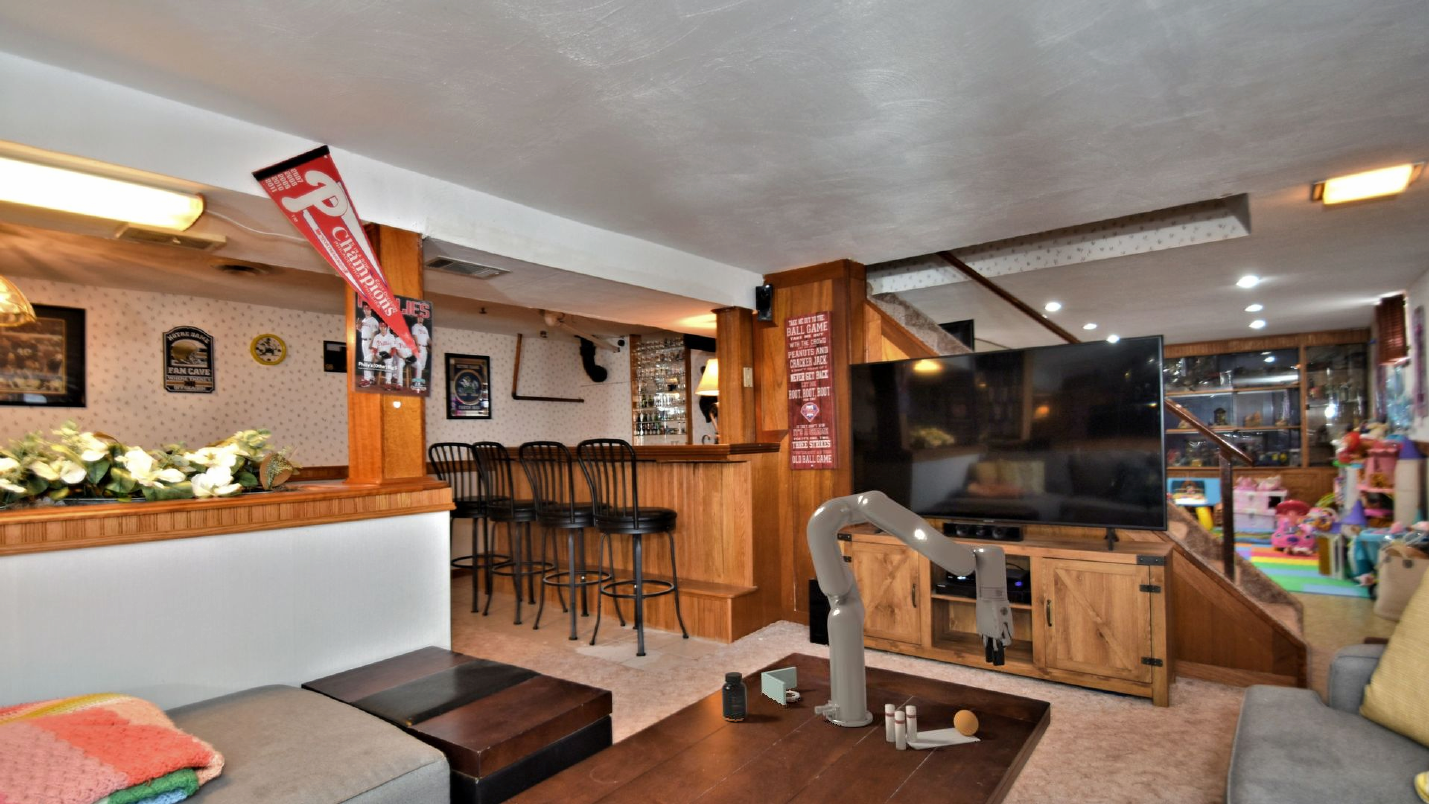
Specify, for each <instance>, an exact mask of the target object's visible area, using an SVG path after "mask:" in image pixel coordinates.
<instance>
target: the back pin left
mask: <svg viewBox="0 0 1429 804" xmlns="http://www.w3.org/2000/svg"><path fill="white" fill-rule="evenodd" d="M884 708H885V709H884V710H885V713H884V714H885V731H886V732H885V734H886V735H885V736H886V741H887V742H890V743H896V732H895V711H896V706H895V705H894V704H891V703H887V704H885V705H884Z"/></svg>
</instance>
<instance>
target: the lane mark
mask: <svg viewBox="0 0 1429 804" xmlns="http://www.w3.org/2000/svg"><path fill="white" fill-rule="evenodd" d="M905 734H906V744H909V746H910V747H912V748H914V749H915V750H922V749H930V748H938V747H945V746H953V745H960V744H967V743H975V741H976V742H981V739H979V738H978V737H977V736H975V735H974V734H972V735H969V736H967V735H963V734H961V733H959V732H958V731H957V729H956V728H955V727H951V728H950V727H949V728H943V729H934V730H927V731H926V730H925V731H919V732H918V731H917V742H916V743H910V742H908V741H907V733H905Z"/></svg>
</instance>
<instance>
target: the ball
mask: <svg viewBox="0 0 1429 804" xmlns="http://www.w3.org/2000/svg"><path fill="white" fill-rule="evenodd" d="M953 725H954V728H956V729H957V731H958V732H959V733H961V734H963V735H967V736H969V735H974V734H975V733H977V731H978V729H979V720H978V717H976V714H974V713H973V712H972V711H970V710H967V709H962V710H959V711H958V712H956V714H955V715H954V717H953Z"/></svg>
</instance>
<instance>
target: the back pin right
mask: <svg viewBox="0 0 1429 804" xmlns="http://www.w3.org/2000/svg"><path fill="white" fill-rule="evenodd" d="M905 717H906V711H903V710H895V732H896V741H895V748H896V749H897V750H901V751H904V750H906V749H907V742H906V734H907V733H906V718H905Z"/></svg>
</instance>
